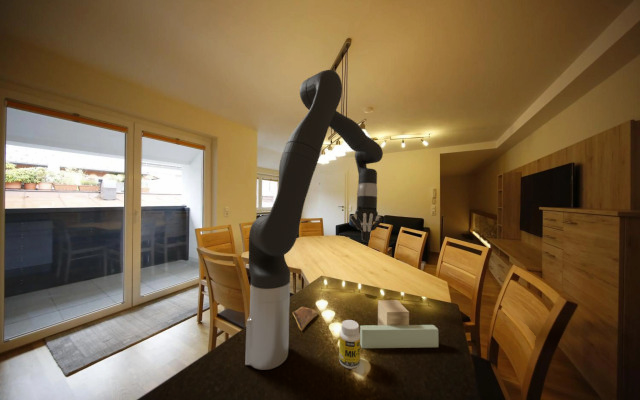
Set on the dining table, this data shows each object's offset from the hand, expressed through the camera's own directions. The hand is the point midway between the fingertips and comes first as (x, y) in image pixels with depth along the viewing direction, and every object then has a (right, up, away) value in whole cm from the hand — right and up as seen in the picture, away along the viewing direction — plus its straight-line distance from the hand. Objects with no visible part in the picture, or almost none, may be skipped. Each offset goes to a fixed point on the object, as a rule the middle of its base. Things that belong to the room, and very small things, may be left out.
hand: (365, 241), depth 77 cm
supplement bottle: (-10, -22, -30) cm, 39 cm away
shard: (-21, -23, -12) cm, 33 cm away
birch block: (+3, -22, -20) cm, 30 cm away
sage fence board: (+3, -22, -24) cm, 33 cm away
